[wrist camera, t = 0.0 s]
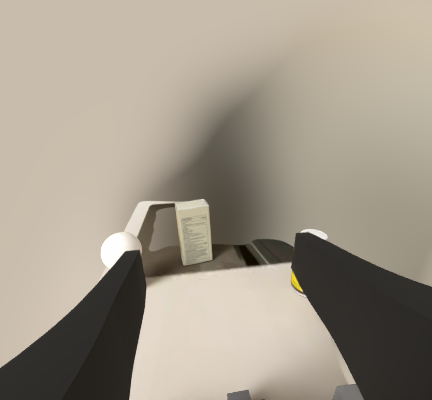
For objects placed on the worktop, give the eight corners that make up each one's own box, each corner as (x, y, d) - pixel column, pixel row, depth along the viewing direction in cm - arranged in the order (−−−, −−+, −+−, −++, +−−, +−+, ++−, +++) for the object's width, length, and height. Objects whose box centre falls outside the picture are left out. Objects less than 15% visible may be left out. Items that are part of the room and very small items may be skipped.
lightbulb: (118, 280, 44) (107, 226, 40) (151, 279, 44) (143, 225, 40) (104, 305, 38) (89, 244, 34) (142, 304, 38) (131, 243, 34)
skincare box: (208, 250, 53) (205, 198, 48) (213, 261, 49) (210, 205, 45) (179, 255, 51) (174, 201, 47) (181, 266, 47) (176, 209, 43)
